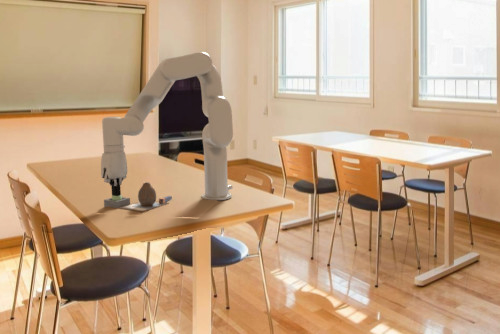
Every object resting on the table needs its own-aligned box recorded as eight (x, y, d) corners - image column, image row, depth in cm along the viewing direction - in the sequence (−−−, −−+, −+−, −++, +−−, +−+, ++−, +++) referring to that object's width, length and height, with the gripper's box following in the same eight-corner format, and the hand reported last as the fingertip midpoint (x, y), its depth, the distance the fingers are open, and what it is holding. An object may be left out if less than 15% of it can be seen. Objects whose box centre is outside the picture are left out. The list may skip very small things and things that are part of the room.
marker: (168, 199, 207) (168, 195, 207) (171, 199, 207) (172, 195, 207) (158, 203, 197) (159, 198, 197) (163, 203, 197) (163, 199, 197)
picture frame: (146, 201, 205) (145, 199, 204) (168, 204, 198) (168, 202, 198) (119, 209, 192) (119, 207, 192) (142, 213, 186) (142, 211, 186)
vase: (139, 208, 190) (137, 185, 189) (138, 203, 197) (136, 181, 195) (157, 206, 192) (156, 184, 190) (155, 202, 199) (154, 180, 197)
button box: (117, 203, 202) (117, 196, 201) (130, 205, 198) (129, 198, 198) (104, 207, 196) (103, 199, 195) (117, 209, 192) (116, 201, 192)
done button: (117, 203, 200) (116, 193, 199) (124, 204, 198) (123, 194, 197) (110, 205, 196) (109, 195, 196) (117, 206, 194) (116, 196, 194)
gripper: (120, 146, 201) (123, 190, 205) (91, 150, 189) (94, 198, 192) (134, 147, 198) (136, 192, 201) (106, 152, 185) (108, 200, 188)
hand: (116, 195), depth 196 cm, fingers closed
